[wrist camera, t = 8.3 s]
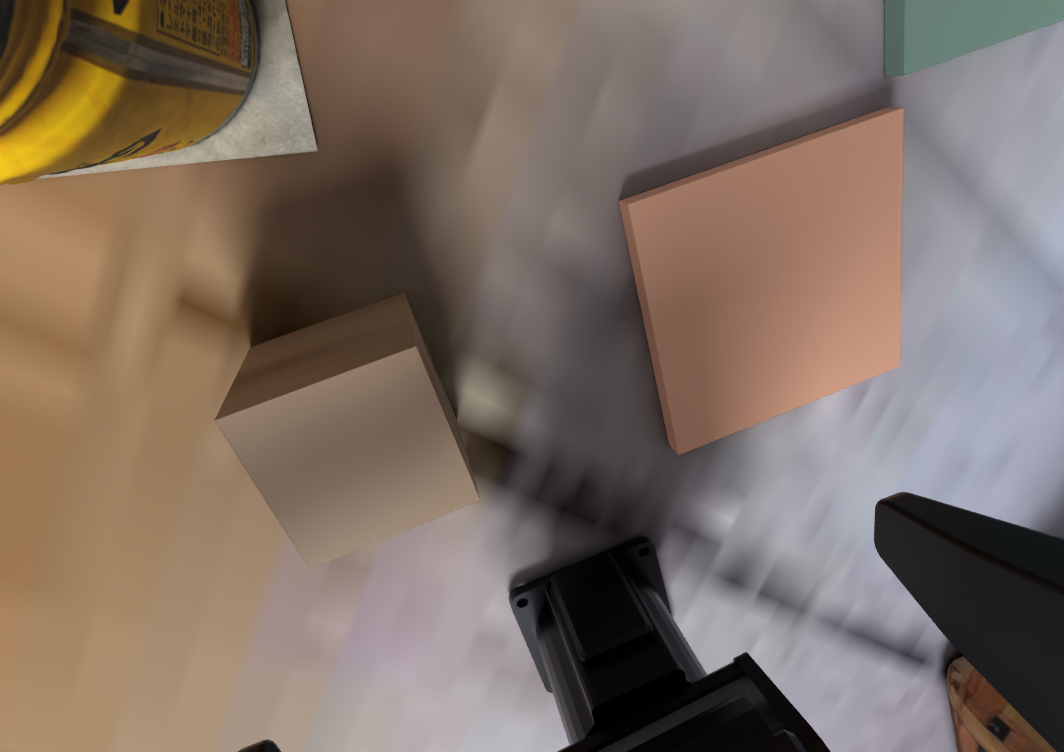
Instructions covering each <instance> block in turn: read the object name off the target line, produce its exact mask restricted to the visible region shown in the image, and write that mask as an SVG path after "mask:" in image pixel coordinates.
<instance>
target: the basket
mask: <svg viewBox="0 0 1064 752" xmlns="http://www.w3.org/2000/svg"><path fill="white" fill-rule="evenodd" d="M946 683H947V692H948V697H949V702H950V707H951V712H952V718H953V724H954V730H955V736H956V742H957V748H958V752H1056V751H1055V750H1054V749H1053V748H1052V747H1051V746H1050V745H1049V744H1048V743H1047V742H1046V741H1045V739H1044V738H1043V737H1042V736H1041V735H1040V734H1039V733H1038V732H1037V731H1036V730H1035V729H1034V728H1033V727H1032V726H1031V725H1030V724H1029V723H1028V722H1027V721H1026V720H1025V719H1024V718H1023V717H1022V716H1021V715H1020V714H1019V713H1018V712H1017V711H1016V710H1015V709H1014V708H1013V707H1012V706H1011V705H1010V704H1009V703H1008V702H1007V701H1006V700H1005V699H1004V697H1003V696H1002V695H1001V694H1000V693H999V692H998V691H997V690H996V689H995V688H994V687H993V686H992V685H991V684H990V683H989V682H988V681H987V680H986V679H985V678H984V677H983V676H982V675H981V674H980V673H979V672H978V671H977V670H976V669H975V668H974V667H973V666H972V665H971V664H970V663H969V662H968V661H967V660H966V658H965V657H964V656H962V657H960V658H958V659H955V660H953V662H952V663H951V664H950V666H949V668H948V672H947V677H946Z"/></svg>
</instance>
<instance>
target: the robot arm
mask: <svg viewBox="0 0 1064 752" xmlns="http://www.w3.org/2000/svg"><path fill="white" fill-rule="evenodd" d="M874 543H875V547H876V549H877V552H878V553H879V555H880V557H881V558H882V559H883V561H884V562H885V563H886V564H887V566H888V567H889V568H890V569H891V570H892V572H893V573H894V574H895V575H896V577H897V578H898V579H899V580H900V581H901V583H902V584H903V585H904V586H905V588H906V589H907V590H908V591H909V592H910V594H911V595H912V596H913V597H914V599H915V600H916V601H917V602H918V603H919V605H920V606H921V607H922V608H923V610H924V611H925V612H926V613H927V615H928V616H929V617H930V618H931V619H932V621H933V622H934V623H935V624H936V626H937V627H938V628H939V629H940V630H941V632H942V633H943V634H944V635H945V636H946V637H947V639H948V640H949V641H950V642H951V643H952V644H953V646H954V647H955V648H956V649H957V650H958V651H959V652H960V653H961V654H962V655H963V656H964V657H965V658H966V660H967V661H968V662H969V663H970V664H971V665H972V666H973V667H974V668H975V669H976V670H977V671H978V672H979V673H980V674H981V675H982V676H983V677H984V678H985V679H986V680H987V681H988V682H989V683H990V684H991V685H992V686H993V687H994V688H995V689H996V690H997V691H998V692H999V693H1000V694H1001V695H1002V696H1003V697H1004V699H1005V700H1006V701H1007V702H1008V703H1009V704H1010V705H1011V706H1012V707H1013V708H1014V709H1015V710H1016V711H1017V712H1018V713H1019V714H1020V715H1021V716H1022V717H1023V718H1024V719H1025V720H1026V721H1027V722H1028V723H1029V724H1030V725H1031V726H1032V727H1033V728H1034V729H1035V730H1036V731H1037V732H1038V733H1039V734H1040V735H1041V736H1042V737H1043V738H1044V739H1045V741H1046V742H1047V743H1048V744H1049V745H1050V746H1051V747H1052V748H1053V749H1054V750H1055V751H1056V752H1064V539H1062V538H1059V537H1055V536H1052V535H1049V534H1045V533H1042V532H1039V531H1035V530H1032V529H1029V528H1025V527H1022V526H1019V525H1015V524H1012V523H1009V522H1005V521H1002V520H999V519H995V518H992V517H988V516H985V515H982V514H978V513H975V512H972V511H968V510H965V509H962V508H958V507H955V506H952V505H948V504H945V503H942V502H938V501H935V500H932V499H928V498H925V497H921V496H918V495H915V494H911V493H907V492H900V493H896V494H894V495H891V496H889V497H886V498H884V499H881V500H880V501H878V503H877V504H876V507H875V526H874ZM643 547H645V548H644V549H642V548H643ZM640 549H642V550H640ZM522 598H525V599H523V600H521V601H518V600H520V599H522ZM509 602H510V605H511V608H512V611H513V613H514V615H515V618H516V620H517V622H518V625H519V627H520V629H521V632H522V634H523V636H524V639H525V641H526V643H527V646H528V648H529V651H530V653H531V655H532V658H533V660H534V662H535V665H536V667H537V669H538V672H539V674H540V676H541V679H542V681H543V683H544V686H545V688H546V690H547V691H548V692H550V693H553V695H554V698H555V701H556V704H557V707H558V710H559V713H560V716H561V719H562V723H563V726H564V729H565V732H566V735H567V738H568V741H569V744H570V745H569V746H567V747H565V748H564V749H562V750H560V751H558V752H830V750H829V749H828V748H827V746H826V745H825V743H824V742H823V741H822V739H821V738H820V737H819V736H818V734H817V733H816V732H815V731H814V729H813V728H812V727H811V726H810V725H809V724H808V722H807V721H806V720H805V719H804V718H803V717H802V715H801V714H800V713H799V712H798V711H797V710H796V709H795V707H794V706H793V705H792V704H791V703H790V702H789V700H788V699H787V698H786V697H785V696H784V695H783V693H782V692H781V691H780V690H779V689H778V688H777V687H776V685H775V684H774V683H773V682H772V681H771V680H770V678H769V677H768V676H767V675H766V674H765V673H764V672H763V670H762V669H761V668H760V667H759V666H758V665H757V663H756V662H755V661H754V660H753V659H752V658H751V656H750V655H749V654H748V653H747V652H745V653H743V654H741V655H739V656H737V657H735V658H733V661H734V662H732V663H730V664H728V665H726V666H724V667H722V668H720V669H718V670H716V671H714V672H712V673H710V674H708V675H707V673H706V672H705V670H704V669H703V667H702V665H701V664H700V662H699V660H698V659H697V657H696V655H695V654H694V652H693V650H692V649H691V647H690V645H689V644H688V642H687V641H686V639H685V637H684V636H683V634H682V632H681V631H680V629H679V627H678V626H677V624H676V622H675V621H674V619H673V617H672V615H671V611H670V607H669V603H668V599H667V595H666V591H665V587H664V583H663V579H662V575H661V571H660V567H659V562H658V558H657V554H656V550H655V547H654V545H653V543H652V542H651V540H650V539H649V538H647V537H644V536H642V537H638V538H635V539H633V540H631V541H628V542H626V543H623V544H621V545H619V546H616V547H614V548H611V549H609V550H607V551H604V552H602V553H599V554H597V555H595V556H592V557H590V558H587V559H585V560H583V561H580V562H578V563H575V564H573V565H571V566H568V567H566V568H563V569H561V570H559V571H556V572H554V573H551V574H549V575H547V576H544V577H542V578H539V579H537V580H535V581H532V582H530V583H527V584H525V585H523V586H520V587H518V588H516V589H514V590H513V591H512V592H511V593H510V595H509ZM238 752H281V751H280V749H279V748H278V746H277V745H276V744H275V743H274V742H273V741H271V740H263V741H261V742H258V743H256V744H253V745H250V746H248V747H245V748H243V749H241V750H239V751H238Z"/></svg>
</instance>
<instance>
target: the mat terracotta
mask: <svg viewBox="0 0 1064 752" xmlns="http://www.w3.org/2000/svg"><path fill="white" fill-rule="evenodd" d="M902 182H903V108H883V109H880V110H877V111H874V112H871V113H869V114H866V115H863V116H860V117H857V118H854V119H851V120H849V121H846V122H843V123H840V124H837V125H834V126H831V127H829V128H826V129H823V130H820V131H817V132H814V133H812V134H809V135H806V136H803V137H800V138H797V139H794V140H792V141H789V142H786V143H783V144H780V145H777V146H774V147H772V148H769V149H766V150H763V151H760V152H757V153H754V154H752V155H749V156H746V157H743V158H740V159H737V160H735V161H732V162H729V163H726V164H723V165H720V166H717V167H715V168H712V169H709V170H706V171H703V172H700V173H697V174H695V175H692V176H689V177H686V178H683V179H680V180H677V181H675V182H672V183H669V184H666V185H663V186H660V187H657V188H655V189H652V190H649V191H646V192H643V193H640V194H638V195H635V196H632V197H629V198H626V199H623V200H620V201H619V205H620V210H621V215H622V220H623V225H624V230H625V234H626V239H627V244H628V249H629V254H630V258H631V263H632V268H633V273H634V278H635V283H636V287H637V292H638V297H639V302H640V307H641V311H642V316H643V321H644V326H645V331H646V336H647V340H648V345H649V350H650V355H651V360H652V364H653V369H654V374H655V379H656V384H657V389H658V393H659V398H660V403H661V408H662V413H663V417H664V422H665V427H666V432H667V437H668V442H669V446H670V447H671V448H672V449H673V450H674V451H675V452H676V453H677V454H678V455H681V454H684V453H686V452H689V451H691V450H693V449H696V448H698V447H701V446H703V445H706V444H708V443H711V442H713V441H716V440H718V439H721V438H723V437H726V436H728V435H731V434H733V433H736V432H738V431H740V430H743V429H745V428H748V427H750V426H753V425H755V424H758V423H760V422H763V421H765V420H768V419H770V418H773V417H775V416H778V415H780V414H783V413H785V412H787V411H790V410H792V409H795V408H797V407H800V406H802V405H805V404H807V403H810V402H812V401H815V400H817V399H820V398H822V397H825V396H827V395H830V394H832V393H835V392H837V391H839V390H842V389H844V388H847V387H849V386H852V385H854V384H857V383H859V382H862V381H864V380H867V379H869V378H872V377H874V376H877V375H879V374H882V373H884V372H886V371H889V370H891V369H894V368H896V367H899V366H900V337H901V260H902Z"/></svg>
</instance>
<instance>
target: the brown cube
mask: <svg viewBox="0 0 1064 752" xmlns="http://www.w3.org/2000/svg"><path fill="white" fill-rule="evenodd" d="M214 421H215V422H216V424H217V425H218V427H219V429H220V430H221V432H222V433H223V435H224V436H225V438H226V440H227V441H228V443H229V444H230V446H231V447H232V449H233V451H234V452H235V454H236V455H237V457H238V458H239V460H240V462H241V463H242V465H243V466H244V468H245V469H246V471H247V473H248V474H249V476H250V477H251V479H252V480H253V482H254V484H255V485H256V487H257V488H258V490H259V491H260V493H261V495H262V496H263V498H264V499H265V501H266V502H267V504H268V506H269V507H270V509H271V510H272V512H273V513H274V515H275V517H276V518H277V520H278V521H279V523H280V524H281V526H282V528H283V529H284V531H285V532H286V534H287V535H288V537H289V539H290V540H291V542H292V543H293V545H294V546H295V548H296V550H297V551H298V553H299V554H300V556H301V557H302V559H303V561H304V562H305V564H306V565H307V567H308V568H309V569H311V568H313V567H316V566H318V565H321V564H323V563H326V562H328V561H331V560H333V559H336V558H338V557H341V556H343V555H346V554H348V553H351V552H353V551H356V550H358V549H361V548H363V547H366V546H368V545H371V544H373V543H376V542H378V541H381V540H383V539H386V538H388V537H391V536H393V535H396V534H398V533H401V532H403V531H406V530H408V529H410V528H413V527H415V526H418V525H420V524H423V523H425V522H428V521H430V520H433V519H435V518H438V517H440V516H443V515H445V514H448V513H450V512H453V511H455V510H458V509H460V508H463V507H465V506H468V505H470V504H473V503H475V502H478V501H480V497H479V494H478V490H477V487H476V484H475V480H474V477H473V473H472V470H471V467H470V463H469V460H468V456H467V453H466V450H465V446H464V443H463V439H462V436H461V432H460V429H459V426H458V422H457V419H456V417H455V414H454V412H453V409H452V407H451V404H450V402H449V400H448V397H447V395H446V392H445V390H444V387H443V385H442V382H441V380H440V378H439V375H438V373H437V370H436V368H435V365H434V363H433V360H432V358H431V355H430V353H429V351H428V348H427V346H426V343H425V341H424V338H423V336H422V333H421V331H420V329H419V326H418V324H417V321H416V319H415V316H414V314H413V311H412V309H411V307H410V304H409V302H408V299H407V297H406V294H405V292H403V293H400V294H397V295H395V296H392V297H389V298H386V299H384V300H381V301H378V302H375V303H372V304H370V305H367V306H364V307H361V308H358V309H356V310H353V311H350V312H347V313H345V314H342V315H339V316H336V317H333V318H331V319H328V320H325V321H322V322H319V323H317V324H314V325H311V326H308V327H306V328H303V329H300V330H297V331H294V332H292V333H289V334H286V335H283V336H280V337H278V338H275V339H272V340H269V341H266V342H264V343H261V344H258V345H255V346H253V347H250V349H249V351H248V353H247V356H246V358H245V360H244V362H243V364H242V366H241V368H240V370H239V372H238V374H237V376H236V378H235V380H234V382H233V384H232V386H231V388H230V390H229V392H228V394H227V396H226V398H225V400H224V402H223V404H222V406H221V408H220V410H219V412H218V414H217V416H216V418H215V420H214Z"/></svg>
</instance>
